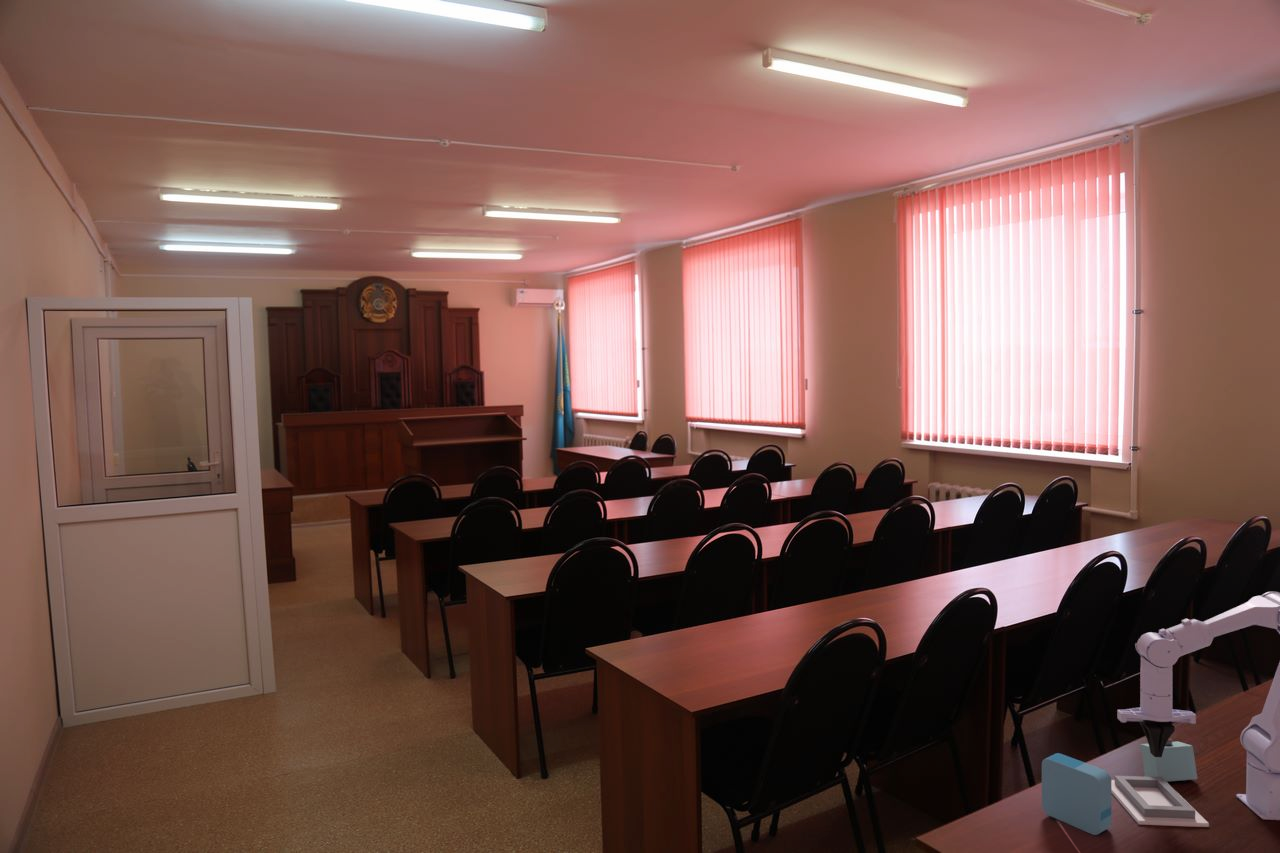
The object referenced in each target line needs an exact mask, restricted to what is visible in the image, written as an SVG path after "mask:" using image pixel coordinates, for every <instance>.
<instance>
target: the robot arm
mask: <svg viewBox="0 0 1280 853" xmlns="http://www.w3.org/2000/svg"><path fill="white" fill-rule="evenodd" d="M1251 626H1260V627H1265V628H1268V629H1269V628H1270V629H1275V630H1276V631H1277V632H1278V634H1279V635H1280V592H1279V591H1267V592H1265V593H1263V594H1261V595H1256V596H1252V597H1251V598H1250V599H1248V601H1246V602H1244V603H1241V604H1240V605H1238V606H1236V607H1233V608H1230V609H1229V610H1226V611H1224V612H1222V613H1219V614H1218V615H1215V616H1213V617H1211V618H1209V619H1208V618H1207V619H1206V620H1204V621H1201V620H1198V619H1195V618H1192V619H1188V618H1184V619H1181V623H1179V624H1177V625H1174V626H1171V627H1169V628H1166V629H1165V628H1161V629H1158V632H1152V631H1150V632H1146V633H1143V634H1141V636H1140V637H1139V638H1138V640H1137V642H1135V644H1134V646H1135V650H1136V652H1137V653H1138V654H1139V656H1140V673H1139V674H1140V675H1139V677H1140V678H1139V681H1140V683H1139V685H1140V686H1139V689H1140V690H1139V691H1140V692H1139V693H1140V696H1139V697H1140V701H1139V702H1140V704H1139V706H1140V707H1132V708H1126V709H1117V710H1116V712H1117V713H1116V714H1117V720H1118V721H1120V723H1127V722H1138V724H1140V726H1141V728H1142V730H1143V733H1144V735H1145V737H1146V740H1147V744H1149V748H1150V753H1151V754H1152V755H1153V756H1154V757H1162V754H1163V751H1164V748H1165V745H1166V743H1167V741H1168V739H1171V738H1170V737H1171V736H1172V735H1173V733H1174V732H1175V729H1176V728H1175V726H1174V724H1173V723H1189V724H1193V725H1195V724H1196V723H1197V715H1196V713H1194V712H1193V711H1191V710H1183V709H1182V710H1181V709H1173V674H1174V673H1173V665H1175V664H1176V663H1177V662H1178V660H1179V658H1180V657H1182V656H1185V655H1187V654H1191V653H1193V652H1196V651H1198V650H1199V651H1200V650H1201V649H1204V648H1206V647H1209V646H1211V644H1212V642H1213V640H1214V638H1216V637H1219V636H1222V635H1225V634H1228V633H1231V632H1235V631H1239V630H1240V629H1244V628H1247V627H1251ZM1239 738H1240V739H1239V740H1240V743H1241V745H1242V747H1243V748H1244V749H1245V751H1246V781H1245V782H1246V784H1245V785H1246V787H1245V793H1237V794H1235V795H1236V798H1238V799H1239V800H1240V802H1242V803H1243V804H1245V805H1246V806H1247V807H1248V808H1249V809H1250V810H1252V812H1254V813H1255V814H1256V815H1257V816H1259V817H1260V818H1261V819H1262V820H1269V821H1274V820H1275V821H1280V661H1279V663H1278V665H1277V668H1276V671H1275V674H1274V677H1273V680H1272V683H1271V686H1270V688H1269V691H1268V694H1267V697H1266V700H1265V703H1264V705H1263V708H1262V711H1261V713H1259V714H1256V715H1255V716H1252V718H1251V719H1250V723H1248V725H1247V726H1246V727H1245V728H1244V729H1243V730H1242V731H1241V734H1240V737H1239Z"/></svg>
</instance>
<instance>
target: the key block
mask: <svg viewBox="0 0 1280 853" xmlns="http://www.w3.org/2000/svg"><path fill="white" fill-rule="evenodd" d="M1140 750H1141V759H1142V765H1143V766H1142V767H1143V773H1144V777H1162V778H1163V779H1164V780H1165V781H1166V782H1177V781H1187V780H1188V781H1190V780H1191V781H1192V780H1198V774H1197V766H1196V760H1195V754H1194V753H1195V752H1194V746H1193V745H1192V744H1187V743H1185V742H1181V741H1177V740H1176V741H1173V739H1172V738H1169V739H1168V741H1167V743H1166V745H1165V748H1164V751H1163V754H1162V757H1154V756H1153V755H1152V754H1151V753H1150V748H1149V744H1148V743H1140Z"/></svg>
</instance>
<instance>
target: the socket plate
mask: <svg viewBox="0 0 1280 853" xmlns="http://www.w3.org/2000/svg"><path fill="white" fill-rule="evenodd" d="M1111 795H1113V796H1114V797H1115V799H1116V800H1117V801H1118V803H1120V804H1121V805H1122V807H1123V808H1124V809H1125V810H1126V811H1127V813H1128V814H1129V815H1130V816H1131V818H1132V819H1134V821H1135V822H1136V823H1137V825H1141V826H1142V825H1144V826H1145V825H1146V826H1148V825H1149V826H1150V825H1151V826H1169V827H1170V826H1171V827H1172V826H1173V827H1191V828H1192V827H1194V828H1195V827H1197V828H1198V827H1199V828H1209V827H1210V824H1209V822H1208V821H1207V820H1206V819H1205V818H1204V817H1203V816H1202V815H1201V814H1200V813H1199V812H1198V811H1197V810H1196V809H1195V808H1194V807H1193V806H1192V805H1191V804H1189V802H1188V801H1187V800H1186V799H1185V798H1183V796H1182V795H1181V794H1180V793H1179V792H1178V791H1177V790H1176V789H1175V788H1173V786H1172V785H1170V784H1169V783H1168V781H1165V780H1164V779H1163V778H1162V777H1145V776H1138V775H1114V779H1111Z"/></svg>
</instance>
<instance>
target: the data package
mask: <svg viewBox="0 0 1280 853" xmlns="http://www.w3.org/2000/svg"><path fill="white" fill-rule="evenodd" d="M1111 780H1112V776H1111V775H1110V773H1109V772H1108V771H1106V769H1104V768H1100V767H1098V766H1095V765H1093V764H1089V763H1087V762H1085V761H1082V760H1078V759H1076V758H1074V757H1071V756H1068V755H1065V754H1062V753H1061V752H1060V753H1059V752H1057V753H1054V754H1052V755H1049V756H1048V757H1046V758H1044V759H1043V760H1042V762H1041V808H1042V810H1043V811H1044V813H1045V814H1046V815H1047V816H1048V817H1051V818H1054V819H1056V820H1059V821H1060V822H1062V823H1066V824H1067V825H1070V826H1072V827H1074V828H1077V829H1078V830H1081V831H1083V832H1085V833H1088V834H1090V835H1092V836H1098V835H1100V834H1101V833H1103V832H1104V831H1106V830H1108V829H1109V828H1111V826H1112V793H1111Z"/></svg>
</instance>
